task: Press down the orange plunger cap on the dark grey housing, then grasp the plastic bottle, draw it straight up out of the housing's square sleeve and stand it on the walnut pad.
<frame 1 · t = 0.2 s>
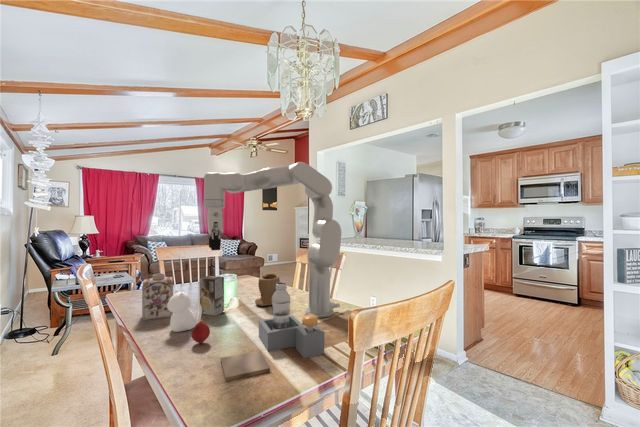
hand: (214, 248, 115), 31 cm above the table, tool pointing down, fingers open, 9 cm apart
coffee box: (211, 313, 135), on the table
housing: (281, 340, 104), on the table
plastic bottle: (281, 341, 104), resting in housing
decorative jar: (158, 315, 132), on the table
stone cup: (271, 304, 148), on the table
plunger: (310, 326, 96), point 8 cm above the table, slide at 0.0 cm
pad: (244, 366, 87), on the table
onion: (200, 344, 102), on the table
cat figurine: (185, 329, 116), on the table
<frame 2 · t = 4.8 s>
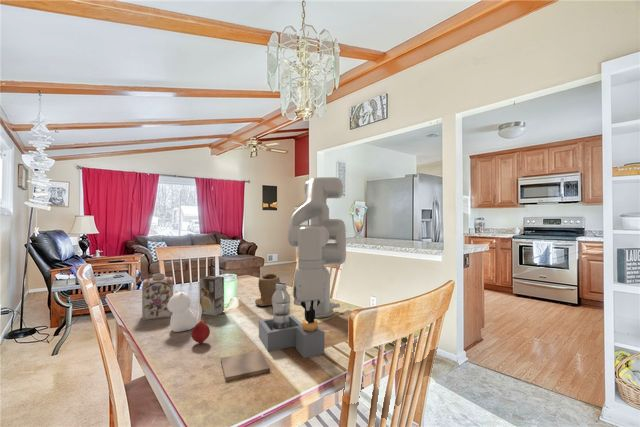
hand: (309, 321, 96), 10 cm above the table, tool pointing down, fingers closed
plunger: (310, 330, 96), point 7 cm above the table, slide at 1.4 cm, touching gripper
everything else where it was.
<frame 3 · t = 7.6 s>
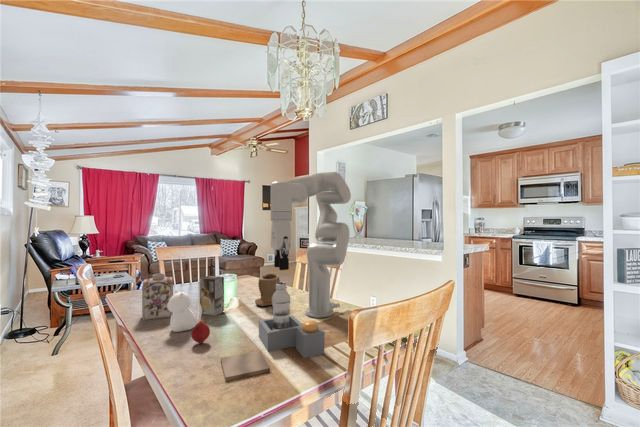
hand: (281, 267, 105), 25 cm above the table, tool pointing down, fingers open, 5 cm apart
plunger: (310, 332, 96), point 6 cm above the table, slide at 1.9 cm
everything else where it was.
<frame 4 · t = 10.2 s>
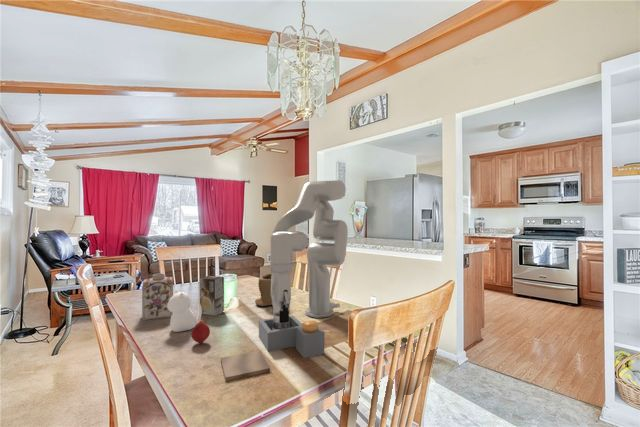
hand: (281, 318, 105), 8 cm above the table, tool pointing down, fingers closed on plastic bottle, 6 cm apart
plastic bottle: (281, 340, 104), resting in housing, touching gripper
everything else where it was.
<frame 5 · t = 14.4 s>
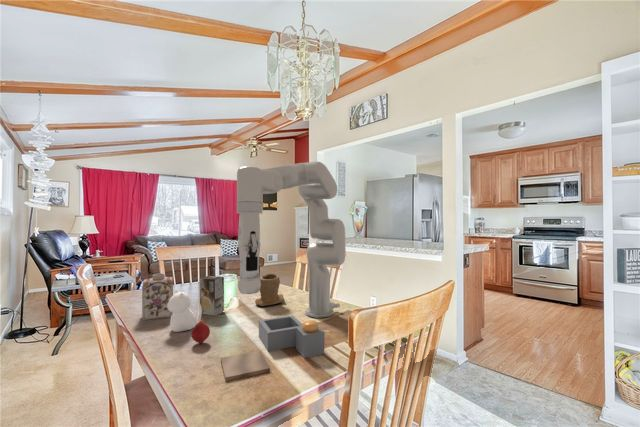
hand: (249, 268, 89), 28 cm above the table, tool pointing down, fingers closed on plastic bottle, 6 cm apart
plastic bottle: (249, 294, 89), point 20 cm above the table, touching gripper
everything else where it was.
when the fingers open (10 cm above the table, at t = 18.5 s): plastic bottle drops 1 cm, resting on pad.
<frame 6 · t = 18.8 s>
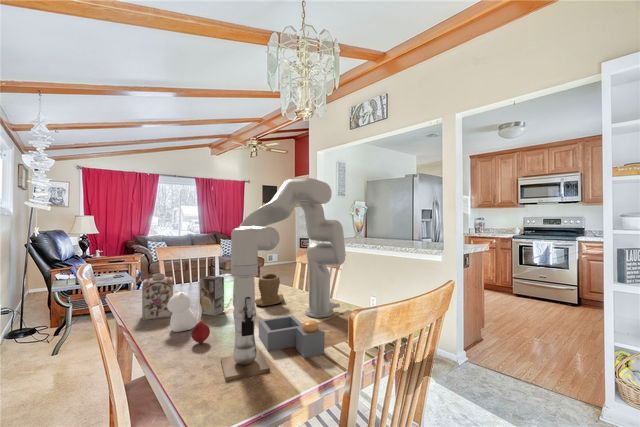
hand: (244, 329, 87), 11 cm above the table, tool pointing down, fingers open, 9 cm apart
plastic bottle: (244, 362, 87), point 1 cm above the table, touching pad
everything else where it was.
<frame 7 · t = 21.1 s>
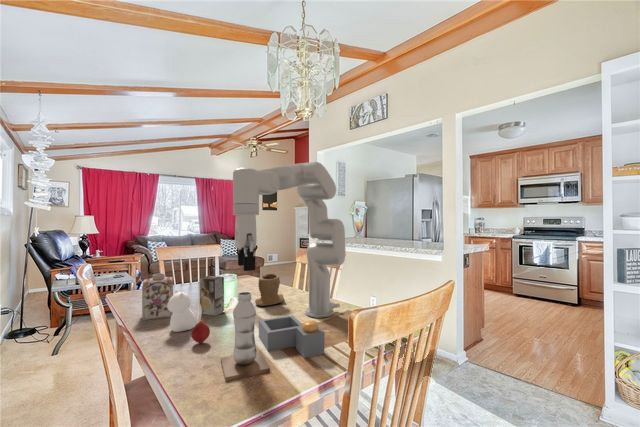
hand: (246, 267, 89), 28 cm above the table, tool pointing down, fingers open, 9 cm apart
nothing on the table moved.
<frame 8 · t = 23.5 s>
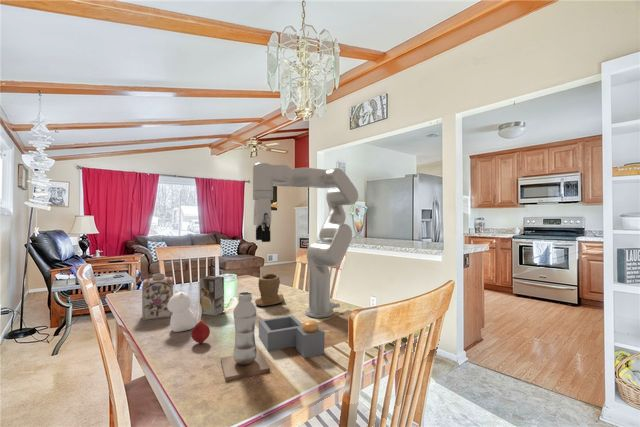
hand: (262, 240, 113), 34 cm above the table, tool pointing down, fingers open, 9 cm apart
nothing on the table moved.
at the end: plunger slide at 1.9 cm; plastic bottle inside the target area on the pad (0.3 cm from its centre), point 0.8 cm above the pad's base; plastic bottle tilted 0° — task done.
